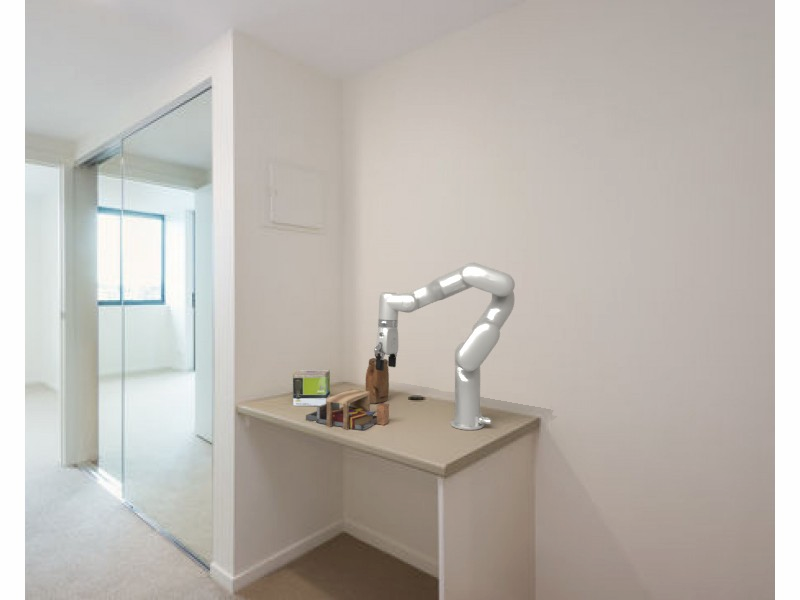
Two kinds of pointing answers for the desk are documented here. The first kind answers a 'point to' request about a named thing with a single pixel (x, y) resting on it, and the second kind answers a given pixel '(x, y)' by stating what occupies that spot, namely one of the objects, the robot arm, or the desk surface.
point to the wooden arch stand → (348, 404)
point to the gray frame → (312, 416)
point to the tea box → (311, 387)
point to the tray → (379, 419)
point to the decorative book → (353, 416)
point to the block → (377, 382)
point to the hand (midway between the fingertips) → (385, 368)
